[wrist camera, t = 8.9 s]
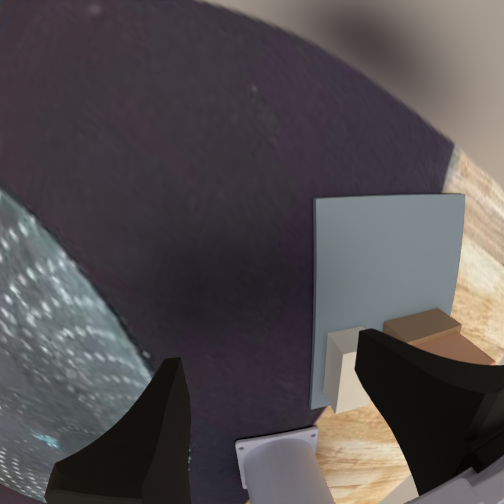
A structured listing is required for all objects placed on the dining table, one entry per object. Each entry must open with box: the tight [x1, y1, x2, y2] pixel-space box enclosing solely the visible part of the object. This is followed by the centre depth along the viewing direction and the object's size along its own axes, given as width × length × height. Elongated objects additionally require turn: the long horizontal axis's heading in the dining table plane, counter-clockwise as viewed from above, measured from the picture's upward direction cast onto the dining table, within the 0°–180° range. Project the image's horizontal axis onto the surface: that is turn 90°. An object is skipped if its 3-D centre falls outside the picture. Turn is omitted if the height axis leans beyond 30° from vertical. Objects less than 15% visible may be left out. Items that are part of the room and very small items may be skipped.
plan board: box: [309, 194, 465, 414], centre depth 22 cm, size 18×14×4 cm
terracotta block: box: [414, 331, 496, 365], centre depth 19 cm, size 5×5×5 cm
